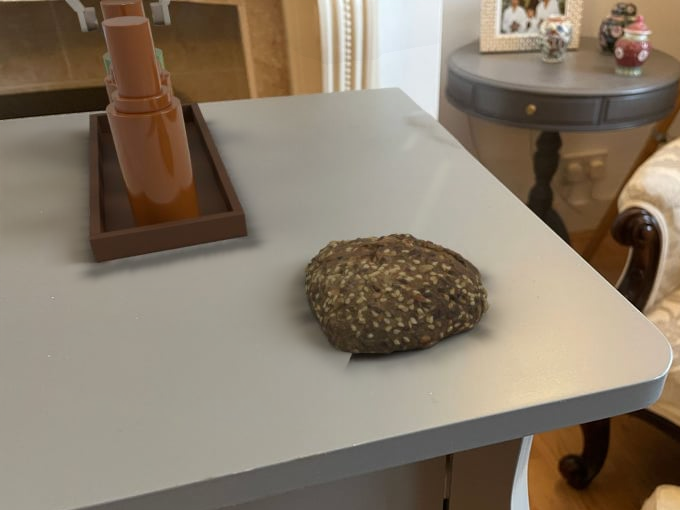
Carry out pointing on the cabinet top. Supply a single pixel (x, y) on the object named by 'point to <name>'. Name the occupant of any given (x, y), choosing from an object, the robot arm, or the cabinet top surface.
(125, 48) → the amber bottle near
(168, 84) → the amber bottle middle
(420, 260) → the bread roll
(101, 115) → the tray
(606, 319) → the cabinet top surface
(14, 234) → the cabinet top surface
